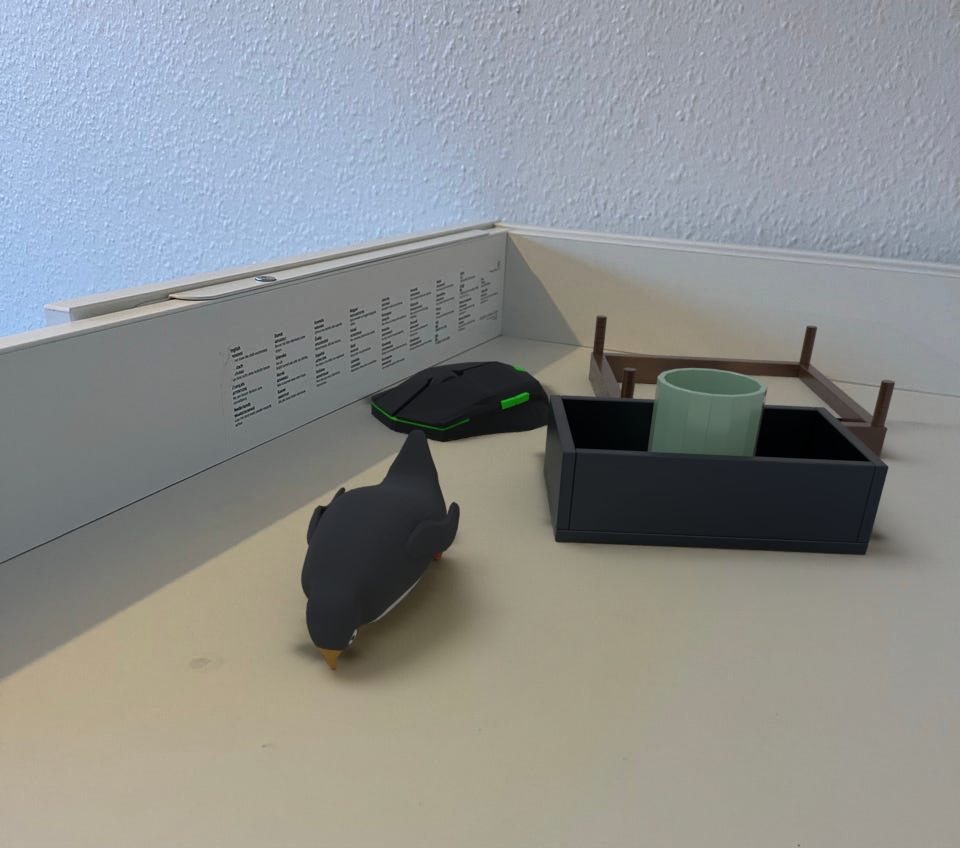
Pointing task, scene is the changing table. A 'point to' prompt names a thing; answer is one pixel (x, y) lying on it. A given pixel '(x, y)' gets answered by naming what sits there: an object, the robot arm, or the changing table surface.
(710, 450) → the cup
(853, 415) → the frame
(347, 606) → the figurine
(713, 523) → the black open box
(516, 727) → the changing table surface
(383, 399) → the computer mouse
